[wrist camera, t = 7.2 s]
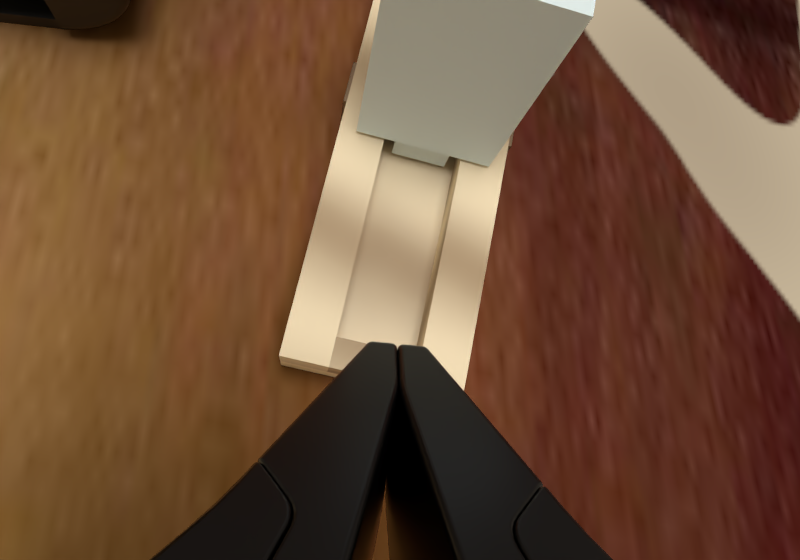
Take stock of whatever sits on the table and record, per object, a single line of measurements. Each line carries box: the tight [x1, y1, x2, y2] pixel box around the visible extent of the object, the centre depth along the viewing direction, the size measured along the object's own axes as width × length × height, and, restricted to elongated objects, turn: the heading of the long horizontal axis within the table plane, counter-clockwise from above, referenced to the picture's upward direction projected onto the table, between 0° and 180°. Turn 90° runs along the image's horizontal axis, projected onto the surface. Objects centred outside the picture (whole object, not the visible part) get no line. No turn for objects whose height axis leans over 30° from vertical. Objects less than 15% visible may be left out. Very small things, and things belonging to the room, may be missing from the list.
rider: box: [356, 0, 596, 167], centre depth 19 cm, size 4×5×10 cm
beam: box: [279, 0, 514, 391], centre depth 24 cm, size 20×6×3 cm, turn 168°
